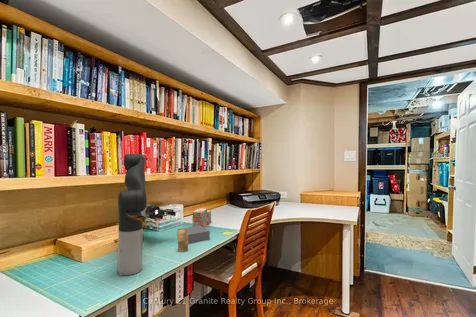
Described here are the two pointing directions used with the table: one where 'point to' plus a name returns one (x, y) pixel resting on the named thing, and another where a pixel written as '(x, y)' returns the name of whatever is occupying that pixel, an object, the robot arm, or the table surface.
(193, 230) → the plinth
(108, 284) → the table surface
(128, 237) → the robot arm
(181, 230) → the cylinder
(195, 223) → the printed cardboard box
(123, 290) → the table surface
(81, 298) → the table surface
